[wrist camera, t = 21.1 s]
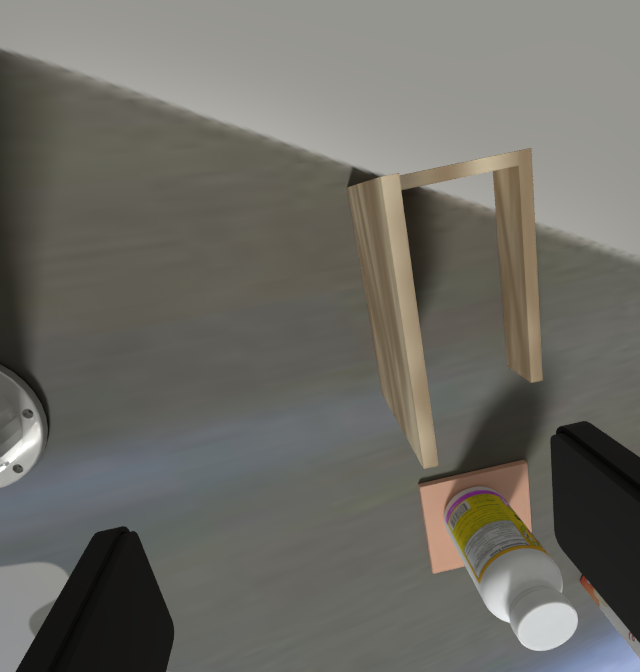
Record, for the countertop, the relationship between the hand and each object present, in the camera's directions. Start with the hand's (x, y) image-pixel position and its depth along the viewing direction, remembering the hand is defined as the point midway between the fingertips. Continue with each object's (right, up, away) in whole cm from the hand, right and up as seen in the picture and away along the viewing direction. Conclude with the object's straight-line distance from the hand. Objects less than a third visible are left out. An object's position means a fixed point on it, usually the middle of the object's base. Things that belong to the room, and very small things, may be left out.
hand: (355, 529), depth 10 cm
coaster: (+15, -14, +35) cm, 41 cm away
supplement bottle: (+15, -13, +35) cm, 40 cm away
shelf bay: (+9, +9, +28) cm, 31 cm away
